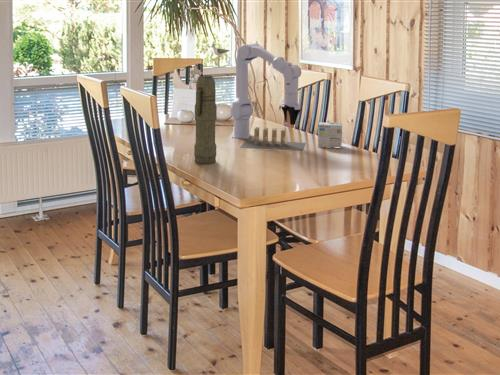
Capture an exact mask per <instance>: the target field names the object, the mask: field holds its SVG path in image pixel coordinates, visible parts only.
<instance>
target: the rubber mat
mask: <svg viewBox="0 0 500 375" xmlns="http://www.w3.org/2000/svg"><path fill="white" fill-rule="evenodd" d="M306 145H307V144H306V142H300V141H299V142H298V141H297V142H296V141H285V145H284V146H281V140H279V141H278V140H276V145H275V146H273V145H272V140H268V143H267V145H263V140H260V139H259V143H258V145H254V139H245V140H244V142H243V143H242V144H241V146H240V147H239V148H240V149H253V150H254V149H255V150H270V151H271V150H274V151H290V152H292V151H294V152H304V150H305V146H306Z"/></svg>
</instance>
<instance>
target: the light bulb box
mask: <svg viewBox="0 0 500 375" xmlns="http://www.w3.org/2000/svg"><path fill="white" fill-rule="evenodd" d="M317 134H318V135H317V148H323V147H328V148H327V149H330V148H329V147H341V148H342V142H343V123H342V122H320V121H319V122H318V131H317Z"/></svg>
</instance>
